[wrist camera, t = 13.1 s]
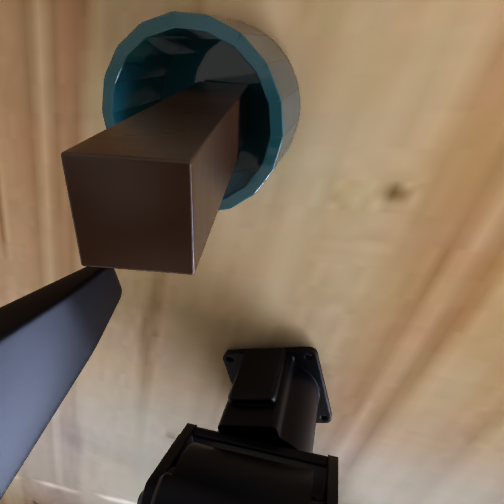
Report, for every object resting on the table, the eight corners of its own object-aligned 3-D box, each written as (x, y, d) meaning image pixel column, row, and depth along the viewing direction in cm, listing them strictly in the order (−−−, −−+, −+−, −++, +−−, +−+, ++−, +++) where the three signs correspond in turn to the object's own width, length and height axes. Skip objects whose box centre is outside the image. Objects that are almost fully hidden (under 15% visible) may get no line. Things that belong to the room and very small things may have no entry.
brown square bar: (246, 136, 19) (194, 276, 8) (198, 133, 20) (80, 266, 8) (248, 84, 18) (191, 161, 7) (198, 81, 18) (58, 151, 7)
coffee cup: (314, 163, 20) (301, 197, 15) (183, 188, 22) (141, 223, 18) (282, -4, 17) (256, -20, 12) (135, 46, 19) (71, 47, 15)
